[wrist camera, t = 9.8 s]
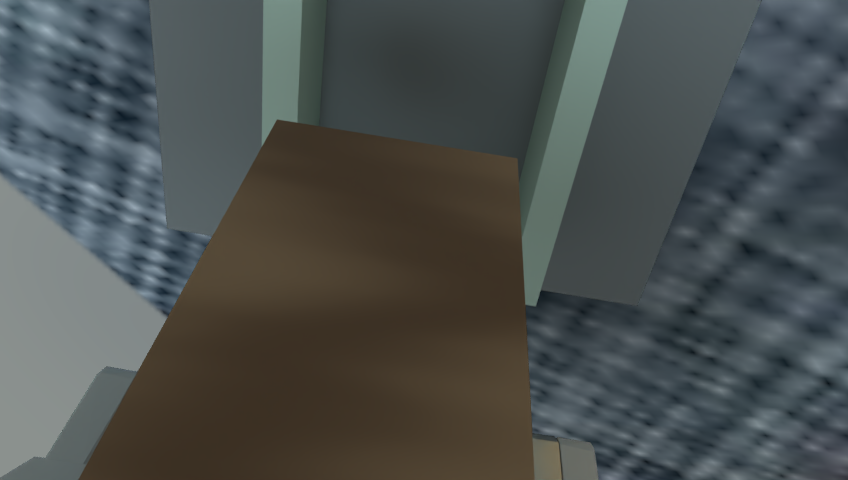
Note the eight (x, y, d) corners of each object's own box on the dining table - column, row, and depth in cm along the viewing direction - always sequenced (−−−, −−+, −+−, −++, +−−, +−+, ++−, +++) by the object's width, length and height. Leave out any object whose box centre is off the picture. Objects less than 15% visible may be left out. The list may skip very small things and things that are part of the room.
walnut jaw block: (517, 158, 12) (545, 673, 5) (457, 403, 15) (430, 895, 9) (276, 119, 12) (14, 593, 5) (271, 374, 15) (107, 849, 9)
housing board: (811, -178, 20) (893, -155, 15) (631, 281, 29) (652, 372, 25) (149, -292, 19) (55, -299, 15) (181, 207, 29) (127, 286, 25)
